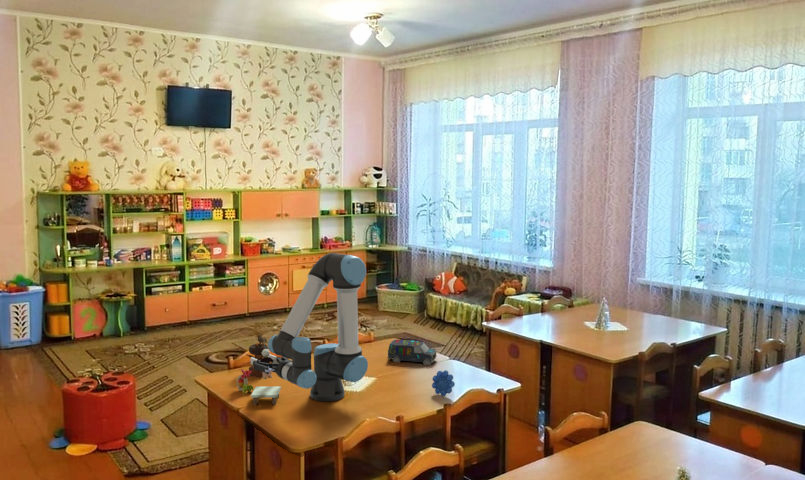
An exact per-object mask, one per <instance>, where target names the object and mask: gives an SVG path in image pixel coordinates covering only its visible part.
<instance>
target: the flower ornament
mask: <svg viewBox="0 0 805 480" xmlns="http://www.w3.org/2000/svg"><path fill="white" fill-rule="evenodd" d="M241 372H242V374H240V375H239V376H237V379H236V386H237V389H238V392H242V393H243V394H244V395H246V393H247V392H251V391H252V392H253V391H254V389H255V388H254V386H253V385H252V384H249V381H248V378H250V377H251V376H249V374H250V373H251V372H252V371H249V369H246V370H245V369H243V368H241Z"/></svg>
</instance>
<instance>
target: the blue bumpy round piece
mask: <svg viewBox="0 0 805 480" xmlns="http://www.w3.org/2000/svg"><path fill="white" fill-rule="evenodd" d="M453 379H454V375H453V374H449V371H448V370H443V371H442V370H438V371H437V372H436V374H435V375H433V377H432V384H431V388H433V390H434V389H435V390H434V393H435V394H437V395H440V396H441V397H445V396H447V394H451V393H452V392H453V388H454V387H455V384H456V383H455V382H454V380H453Z"/></svg>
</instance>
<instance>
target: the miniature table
mask: <svg viewBox="0 0 805 480" xmlns="http://www.w3.org/2000/svg"><path fill="white" fill-rule="evenodd" d="M253 389H254V391H253V390H252V393H251V394H250V398H252V405H253V406H257V405H258V399H261V398H265V399H266V398H271V404H272V405H273V406H276V405H277V399H279V398H280V392H281V389H282V387H281V385H279V386H273V385H272V386H271V385H270V386H265V385H264V386H255V388H253Z"/></svg>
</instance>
